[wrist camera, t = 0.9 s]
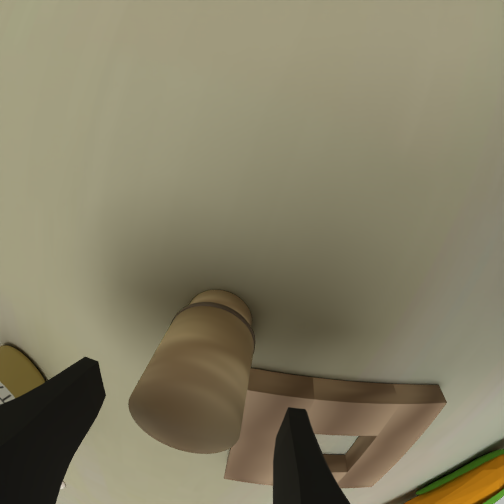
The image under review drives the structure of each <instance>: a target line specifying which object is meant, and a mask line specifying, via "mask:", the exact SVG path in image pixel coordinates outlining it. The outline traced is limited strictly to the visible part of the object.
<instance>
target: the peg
mask: <svg viewBox="0 0 504 504" xmlns="http://www.w3.org/2000/svg"><path fill="white" fill-rule="evenodd" d="M251 325H252V317H251V313H250V310H249V308H248V307H247V305H246V304H245V303H244V302H243V300H241V299H240V298H239V297H237V296H236V295H234V294H232V293H230V292H227V291H223V290H208V291H204V292H202V293H200V294H198V295H197V296H196V297H195V298H194V299H193V300H192V301H191V303H190V304H189V305H188V306H186V307H184V308H183V309H181V310H180V311H179V312H178V313H177V314H176V316H175V317H174V319H173V320H172V323H171V325H170V327H169V329H168V330H167V332H166V334H165V336H164V337H163V339H162V341H161V343H160V344H159V346H158V348H157V350H156V351H155V353H154V355H153V357H152V358H151V360H150V362H149V364H148V366H147V367H146V369H145V371H144V373H143V374H142V376H141V378H140V380H139V382H138V383H137V385H136V387H135V389H134V391H133V392H132V394H131V396H130V399H129V404H128V405H129V410H130V413H131V415H132V417H133V419H134V420H135V422H136V423H137V424H138V426H139V427H140V428H141V429H142V430H144V431H145V432H146V433H147V434H148V435H150V436H151V437H153V438H154V439H156V440H158V441H159V442H161V443H163V444H165V445H168V446H170V447H173V448H175V449H178V450H182V451H186V452H191V453H200V454H210V453H218V452H222V451H225V450H227V449H229V448H231V447H233V446H234V445H235V444H236V443H237V441H238V440H239V437H240V432H241V426H242V420H243V414H244V407H245V401H246V395H247V389H248V383H249V376H250V370H251V364H252V357H253V353H254V348H255V336H254V332H253V330H252V328H251Z"/></svg>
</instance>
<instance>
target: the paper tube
mask: <svg viewBox="0 0 504 504" xmlns="http://www.w3.org/2000/svg"><path fill="white" fill-rule="evenodd" d="M43 383H45V380H44V378H43V377H42V375H41V374H40V372H39V371H38V369H37V368H36V367H35V366H34V364H33V363H32V362H31V361H30V360H29V359H28V358H27V357H26V356H25V355H24V354H22V353H21V352H20V351H18V350H17V349H15V348H13V347H11V346H1V347H0V404H3V403H5V402H8V401H10V400H13V399H15V398H17V397H19V396H21V395H23V394H25V393H27V392H29V391H31V390H32V389H34V388H36V387H38V386H40V385H41V384H43Z"/></svg>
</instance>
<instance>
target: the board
mask: <svg viewBox="0 0 504 504" xmlns="http://www.w3.org/2000/svg"><path fill="white" fill-rule="evenodd" d="M446 403H447V402H446V400H445V397H444V395H443V393H442V391H441V389H440V387H439V385H412V384H384V383H367V382H354V381H342V380H332V379H323V378H314V377H306V376H298V375H291V374H284V373H278V372H271V371H265V370H259V369H253V368H251V370H250V376H249V383H248V389H247V395H246V401H245V407H244V414H243V420H242V426H241V432H240V437H239V440H238V441H237V443H236V444H235V445H234V446H233V447H231V448H230V452H229V456H228V460H227V465H226V470H225V475H224V479H229V480H235V481H241V482H248V483H255V484H264V485H273V457H274V448H275V440H276V436H277V433H278V431H279V429H280V426H281V424H282V421H283V419H284V416H285V414H286V411H287V409H288V407H291V408H300V409H305V410H306V411H307V413H308V417H309V420H310V423H311V426H312V429H313V432H314V434H325V435H348V436H359V437H358V438H357V440H356V441H355V443H354V444H353V445H352V447H351V448H350V449H349V451H348V452H347V453H346V454H345V455H328V454H323V456H324V458H325V460H326V463H327V465H328V467H329V469H330V471H331V472H332V474H333V476H334V478H335V480H336V482H337V483H338V485H339V487H340V488H361V487H372V486H373V485H374V484H375V483H376V482H377V481H378V480H380V479H381V478H382V477H383V476H384V475H385V474H386V473H387V472H388V471H389V470H390V469H391V468H392V467H393V466H394V465H395V464H396V463H397V462H398V461H399V460H400V459H401V457H402V456H403V455H404V454H405V453H406V452H407V451H408V450H409V449H410V448H411V447H412V445H413V444H414V443H415V442H416V441H417V440H418V439H419V437H420V436H421V435H422V434H423V433H424V432H425V430H426V429H427V428H428V427H429V425H430V424H431V423H432V422H433V420H434V419H435V418H436V417H437V415H438V414H439V413H440V411H441V410H442V409H443V407H444V406H445V405H446Z"/></svg>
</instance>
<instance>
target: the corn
mask: <svg viewBox="0 0 504 504" xmlns="http://www.w3.org/2000/svg"><path fill="white" fill-rule="evenodd" d="M418 494H420V495H419V496H417V497H415V498H413V499H411V500H409V501H408V502H406V503H404V504H494V503H495V502H496V501H498V500H499V499H500V498H502V497H503V496H504V449H500V450H495V451H492V452H490V453H488V454H485V455H483V456H481V457H479V458H477V459H475V460H473V461H472V462H470V463H468V464H467V465H465V466H463V467H461V468H460V469H458V470H456V471H454V472H452V473H450V474H448V475H446V476H445V477H443V478H441V479H439V480H437V481H435V482H433V483H431V484H429V485H428V486H426V487H424V488H422V489H421V490H419V491H417V492H416V495H418Z"/></svg>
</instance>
